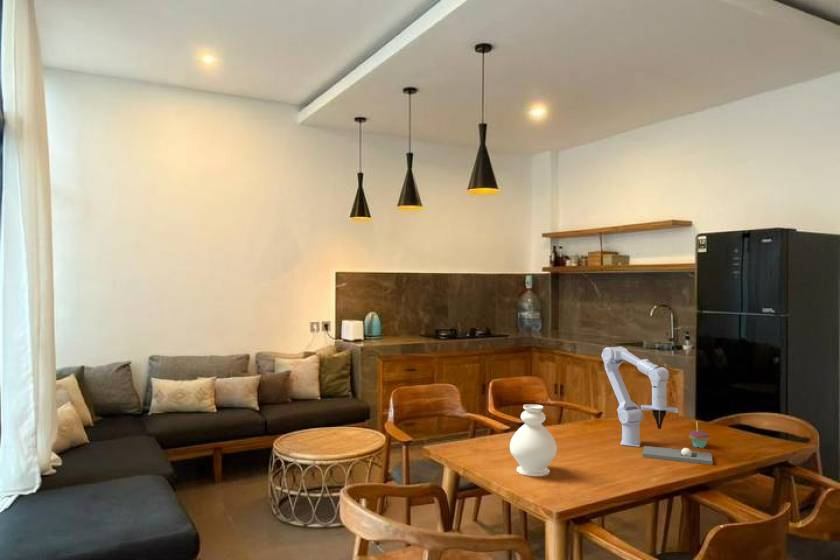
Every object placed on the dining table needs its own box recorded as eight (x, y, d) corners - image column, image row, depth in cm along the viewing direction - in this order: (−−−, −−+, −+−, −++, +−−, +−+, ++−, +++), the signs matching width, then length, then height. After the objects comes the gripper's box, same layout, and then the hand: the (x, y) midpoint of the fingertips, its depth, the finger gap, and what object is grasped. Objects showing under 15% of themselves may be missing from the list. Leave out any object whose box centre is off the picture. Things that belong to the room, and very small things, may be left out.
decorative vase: (565, 471, 226) (565, 406, 226) (539, 482, 214) (539, 413, 214) (527, 460, 239) (527, 399, 239) (500, 470, 227) (500, 406, 226)
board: (644, 449, 255) (644, 445, 255) (710, 456, 245) (710, 452, 245) (642, 457, 244) (642, 453, 244) (712, 464, 234) (712, 461, 234)
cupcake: (703, 450, 253) (703, 422, 253) (684, 445, 260) (684, 418, 260) (713, 446, 259) (713, 419, 258) (694, 442, 265) (694, 416, 265)
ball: (693, 455, 243) (684, 458, 245) (688, 445, 245) (679, 449, 246) (693, 456, 240) (684, 460, 241) (688, 446, 241) (678, 450, 243)
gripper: (640, 396, 249) (640, 428, 249) (677, 399, 243) (678, 432, 243) (641, 393, 256) (641, 425, 256) (677, 396, 250) (677, 428, 250)
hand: (659, 428), depth 250 cm, fingers closed
